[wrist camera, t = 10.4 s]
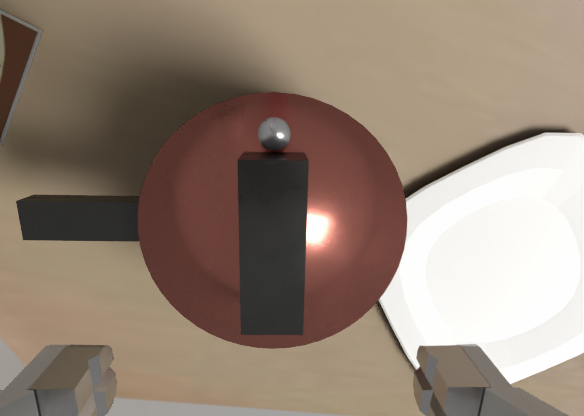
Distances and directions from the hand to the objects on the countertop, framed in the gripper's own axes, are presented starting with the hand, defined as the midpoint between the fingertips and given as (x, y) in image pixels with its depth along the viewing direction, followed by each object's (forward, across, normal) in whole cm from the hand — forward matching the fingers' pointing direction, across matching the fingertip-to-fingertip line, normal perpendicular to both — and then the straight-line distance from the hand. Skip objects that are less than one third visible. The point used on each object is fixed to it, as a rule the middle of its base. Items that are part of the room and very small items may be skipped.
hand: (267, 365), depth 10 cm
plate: (+22, -20, +8) cm, 31 cm away
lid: (+12, 0, 0) cm, 12 cm away
